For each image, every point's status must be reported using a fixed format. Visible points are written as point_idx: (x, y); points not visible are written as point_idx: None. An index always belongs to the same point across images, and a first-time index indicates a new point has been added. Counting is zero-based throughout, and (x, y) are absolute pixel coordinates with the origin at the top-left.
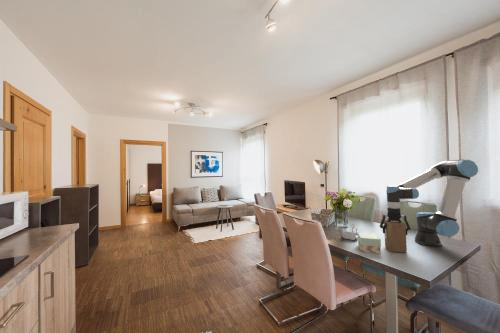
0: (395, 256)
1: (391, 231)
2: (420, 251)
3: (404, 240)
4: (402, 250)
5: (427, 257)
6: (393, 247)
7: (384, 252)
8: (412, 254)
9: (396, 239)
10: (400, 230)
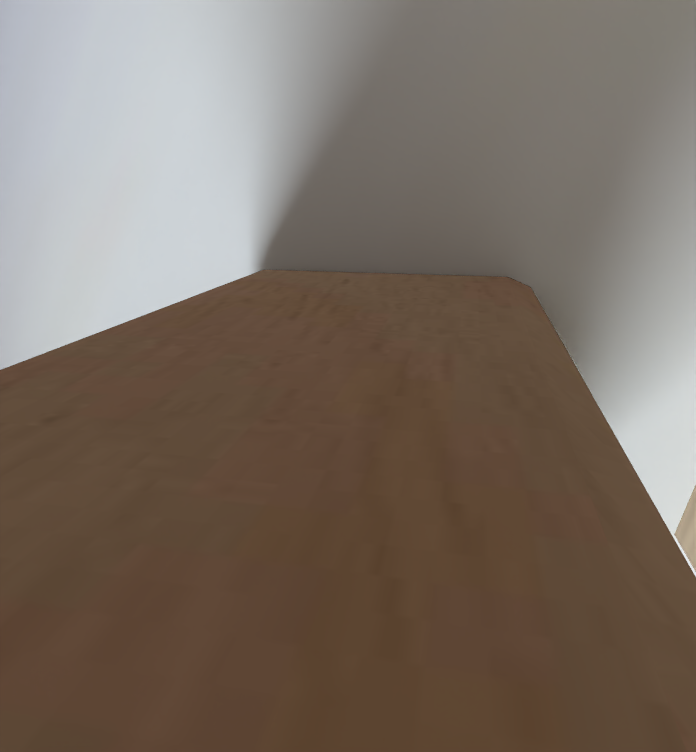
0: (568, 48)
1: (598, 487)
2: (25, 360)
3: (166, 317)
4: (314, 275)
5: (12, 99)
6: (489, 290)
7: (685, 262)
8: (190, 212)
9: (387, 330)
10: (27, 463)
